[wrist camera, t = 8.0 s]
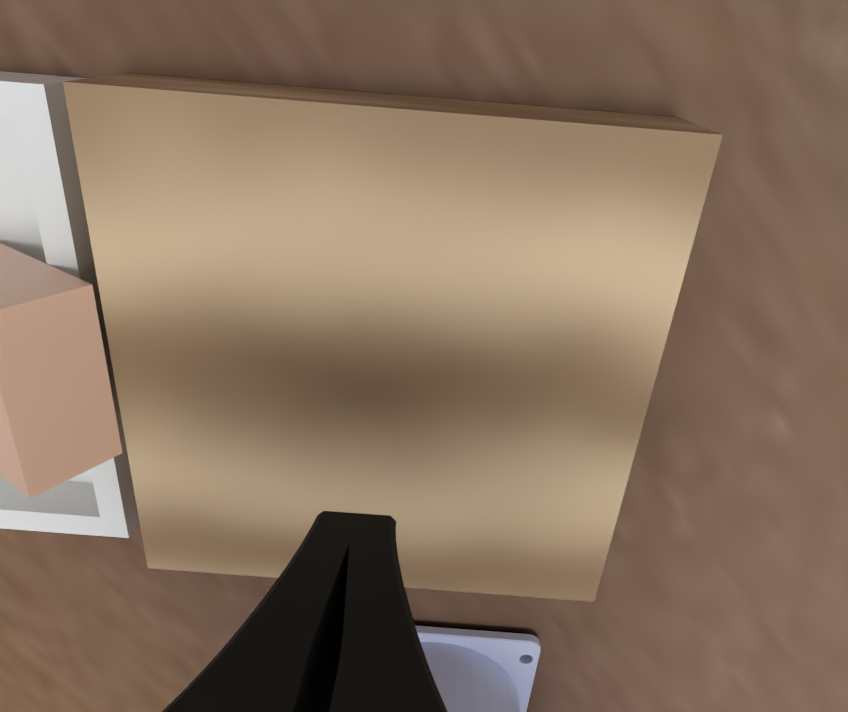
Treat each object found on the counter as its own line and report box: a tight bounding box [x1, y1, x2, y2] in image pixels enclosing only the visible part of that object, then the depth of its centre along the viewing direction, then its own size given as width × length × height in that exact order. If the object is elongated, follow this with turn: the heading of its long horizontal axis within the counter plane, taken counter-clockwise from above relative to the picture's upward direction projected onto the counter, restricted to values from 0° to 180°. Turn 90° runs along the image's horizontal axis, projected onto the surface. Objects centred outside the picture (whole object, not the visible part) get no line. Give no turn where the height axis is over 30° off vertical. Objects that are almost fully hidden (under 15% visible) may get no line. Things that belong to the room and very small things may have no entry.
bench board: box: [63, 73, 723, 602], centre depth 18 cm, size 14×14×3 cm
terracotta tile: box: [0, 243, 122, 499], centre depth 17 cm, size 5×5×2 cm
